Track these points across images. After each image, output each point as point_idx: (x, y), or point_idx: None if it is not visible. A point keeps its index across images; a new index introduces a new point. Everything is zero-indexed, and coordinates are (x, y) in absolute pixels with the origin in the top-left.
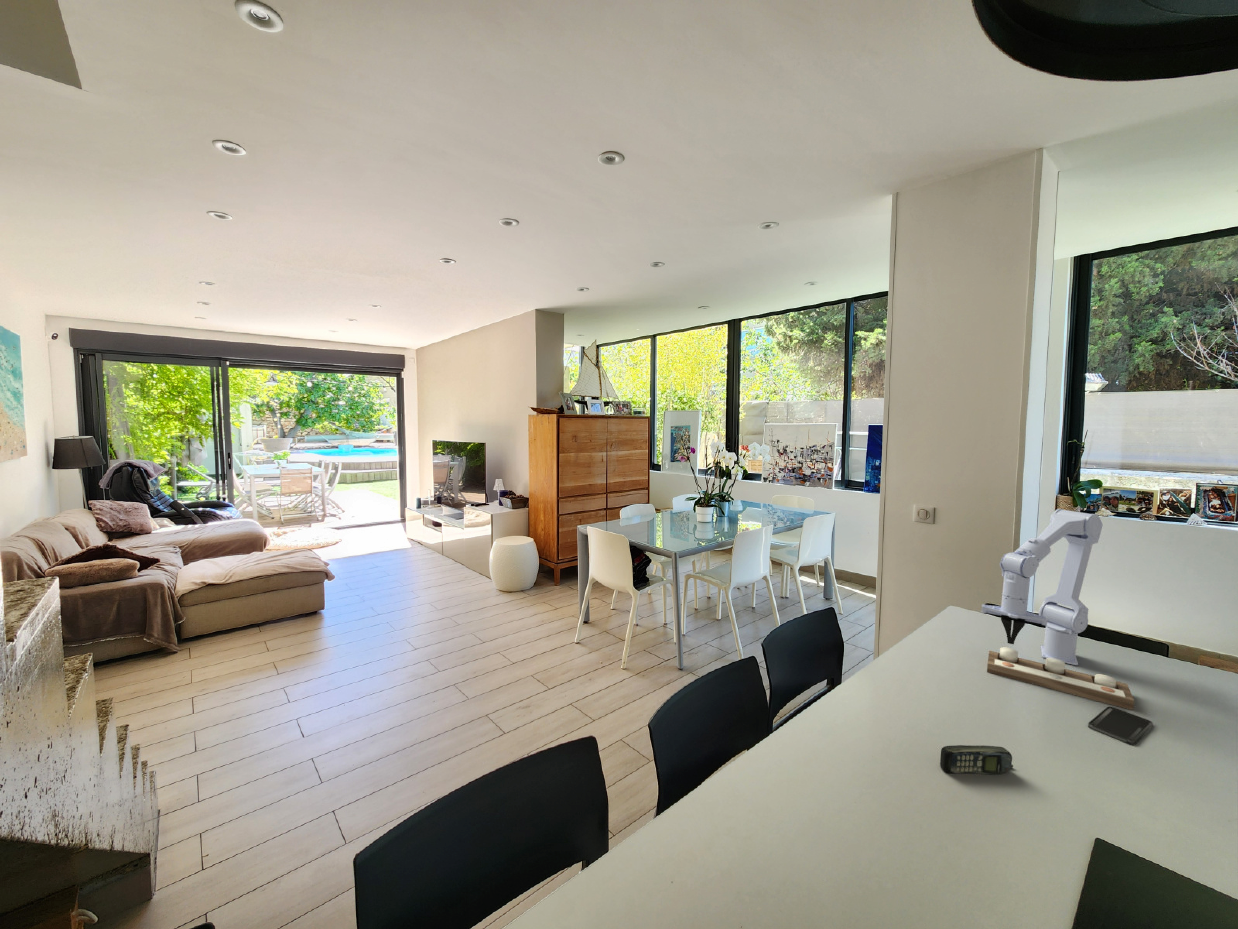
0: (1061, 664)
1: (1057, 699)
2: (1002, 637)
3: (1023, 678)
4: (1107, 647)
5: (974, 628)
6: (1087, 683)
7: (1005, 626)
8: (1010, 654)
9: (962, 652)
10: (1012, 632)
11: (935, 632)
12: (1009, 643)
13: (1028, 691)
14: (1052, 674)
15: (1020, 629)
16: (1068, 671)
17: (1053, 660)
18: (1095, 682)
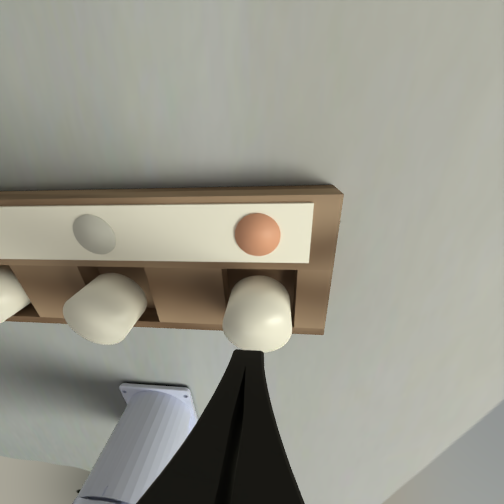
0: (69, 305)
1: (78, 91)
2: None
3: (202, 189)
4: None
5: (336, 458)
6: (11, 246)
7: (286, 497)
8: (249, 297)
9: (400, 313)
10: (234, 437)
11: (458, 407)
12: (253, 351)
13: (175, 86)
14: (106, 246)
15: (155, 485)
16: None
17: (102, 325)
18: (16, 282)
